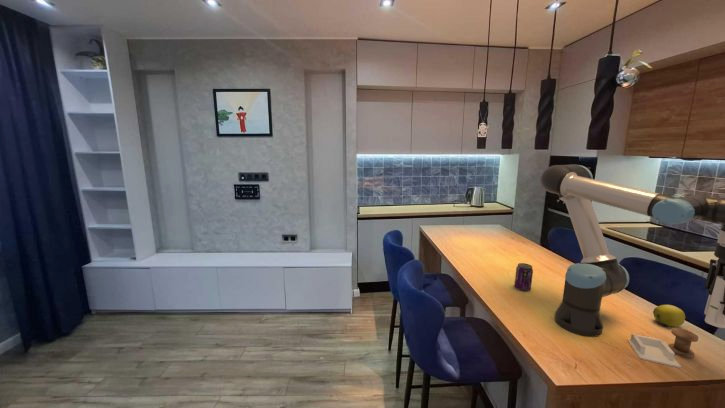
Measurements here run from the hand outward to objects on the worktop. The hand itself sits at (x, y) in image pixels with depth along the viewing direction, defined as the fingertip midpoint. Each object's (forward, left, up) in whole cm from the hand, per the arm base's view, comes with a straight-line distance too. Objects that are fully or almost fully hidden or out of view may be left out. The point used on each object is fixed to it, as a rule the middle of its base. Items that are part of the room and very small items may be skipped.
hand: (716, 319), depth 90 cm
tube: (0, 0, -2) cm, 2 cm away
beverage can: (-49, +34, -16) cm, 62 cm away
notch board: (-12, 0, -16) cm, 20 cm away
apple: (+1, +24, -16) cm, 29 cm away
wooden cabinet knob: (-3, +5, -16) cm, 17 cm away
